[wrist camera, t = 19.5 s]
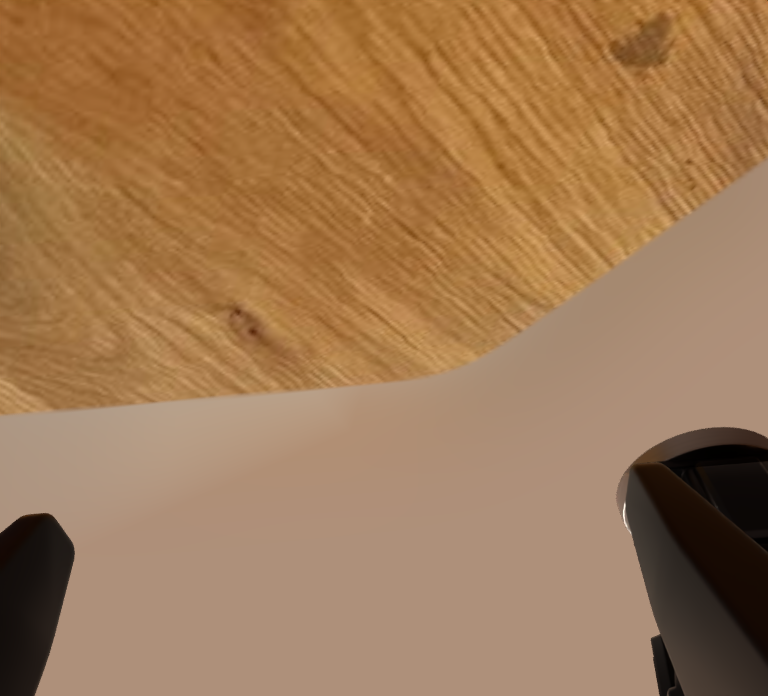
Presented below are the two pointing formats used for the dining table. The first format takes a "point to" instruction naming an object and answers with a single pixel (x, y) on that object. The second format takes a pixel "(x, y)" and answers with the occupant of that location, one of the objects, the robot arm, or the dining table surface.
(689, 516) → the robot arm
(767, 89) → the dining table surface
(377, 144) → the dining table surface
